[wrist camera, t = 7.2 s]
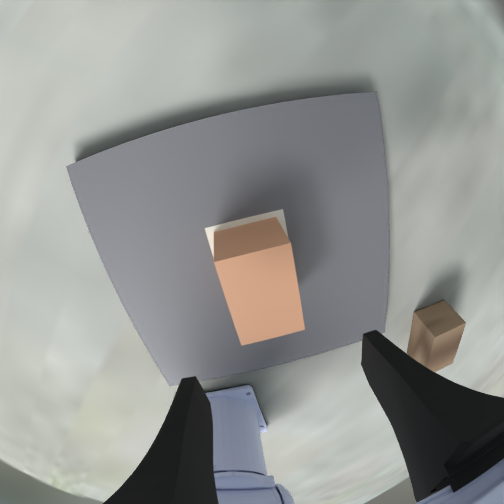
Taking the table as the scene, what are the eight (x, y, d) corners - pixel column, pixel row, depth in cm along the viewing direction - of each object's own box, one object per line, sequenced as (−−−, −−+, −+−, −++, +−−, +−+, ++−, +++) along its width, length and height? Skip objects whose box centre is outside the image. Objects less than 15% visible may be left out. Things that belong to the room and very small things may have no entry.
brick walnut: (434, 340, 29) (452, 363, 25) (406, 352, 29) (423, 377, 25) (444, 299, 26) (465, 322, 22) (414, 312, 26) (434, 337, 22)
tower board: (380, 325, 26) (384, 332, 25) (170, 377, 26) (169, 386, 25) (369, 92, 17) (376, 91, 16) (72, 163, 17) (66, 166, 16)
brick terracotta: (290, 294, 22) (304, 329, 18) (236, 307, 22) (241, 345, 18) (275, 216, 19) (290, 242, 15) (213, 232, 19) (214, 262, 15)
